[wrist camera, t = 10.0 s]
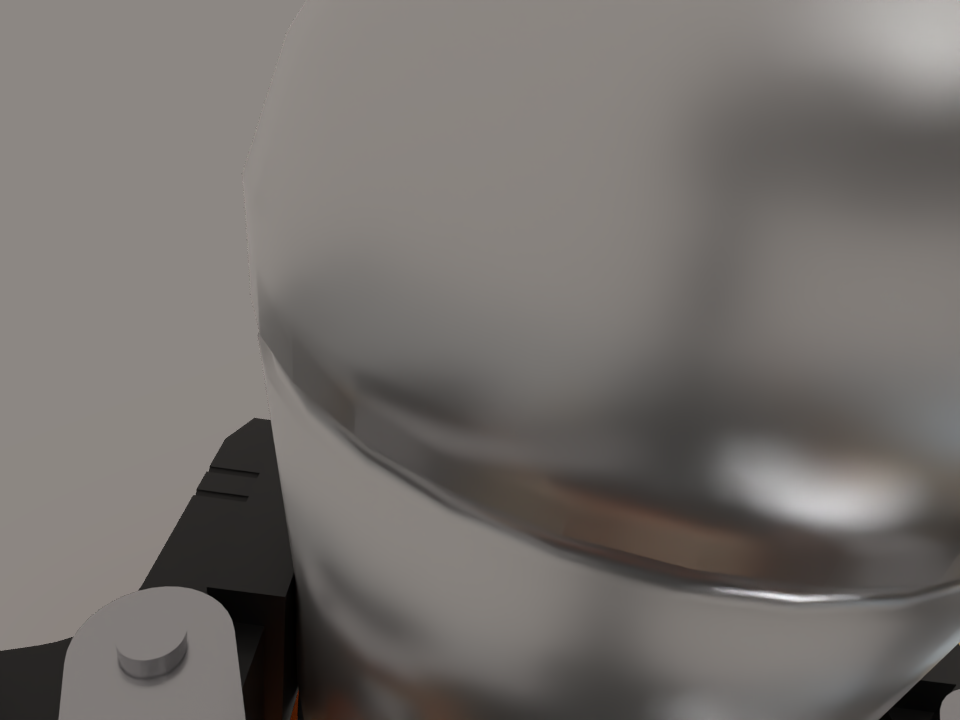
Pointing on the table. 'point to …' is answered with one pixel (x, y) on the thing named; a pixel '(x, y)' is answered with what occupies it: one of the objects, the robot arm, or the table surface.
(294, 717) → the table surface
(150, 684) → the robot arm
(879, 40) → the plastic bottle
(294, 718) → the table surface
